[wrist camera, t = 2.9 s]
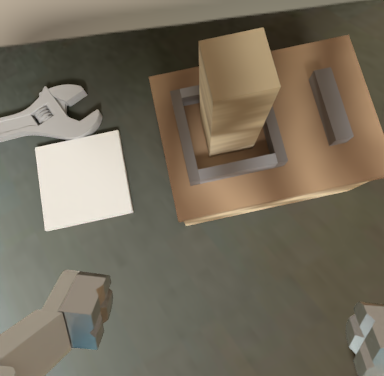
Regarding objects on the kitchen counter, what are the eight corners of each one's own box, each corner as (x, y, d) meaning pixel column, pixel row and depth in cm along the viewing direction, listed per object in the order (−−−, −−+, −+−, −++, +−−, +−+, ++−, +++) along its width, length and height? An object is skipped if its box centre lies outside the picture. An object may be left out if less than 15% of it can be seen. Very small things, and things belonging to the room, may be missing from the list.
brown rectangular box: (317, 82, 37) (356, 22, 28) (352, 192, 35) (408, 168, 25) (160, 116, 37) (145, 67, 28) (183, 229, 34) (176, 218, 25)
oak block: (242, 107, 28) (263, 27, 18) (252, 147, 27) (280, 86, 18) (199, 116, 28) (198, 40, 18) (209, 157, 27) (213, 101, 18)
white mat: (119, 131, 37) (117, 129, 36) (133, 212, 35) (132, 211, 34) (37, 149, 37) (34, 147, 36) (47, 231, 35) (45, 230, 34)
